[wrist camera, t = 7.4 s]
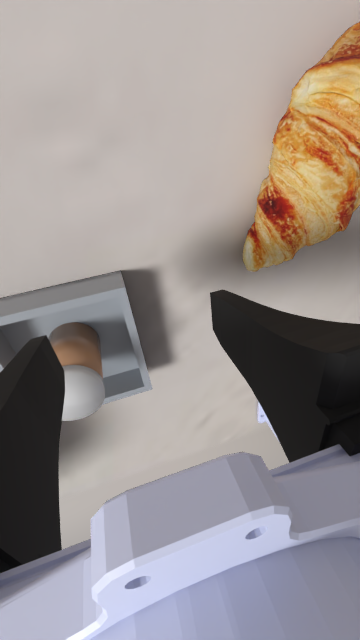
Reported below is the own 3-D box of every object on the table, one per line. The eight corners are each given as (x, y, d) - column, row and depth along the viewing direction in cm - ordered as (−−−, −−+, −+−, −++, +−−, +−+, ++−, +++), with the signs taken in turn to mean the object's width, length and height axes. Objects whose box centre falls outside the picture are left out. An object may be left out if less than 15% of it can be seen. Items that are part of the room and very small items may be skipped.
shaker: (106, 356, 24) (111, 410, 19) (57, 368, 23) (49, 427, 18) (93, 316, 22) (95, 366, 17) (38, 328, 21) (24, 384, 16)
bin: (146, 366, 26) (152, 389, 24) (38, 398, 25) (32, 425, 22) (120, 270, 21) (125, 286, 18) (-22, 303, 19) (-38, 326, 17)
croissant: (244, 262, 28) (312, 310, 24) (186, 233, 20) (274, 298, 16) (415, 16, 20) (554, 27, 16) (435, -191, 12) (716, -268, 8)
